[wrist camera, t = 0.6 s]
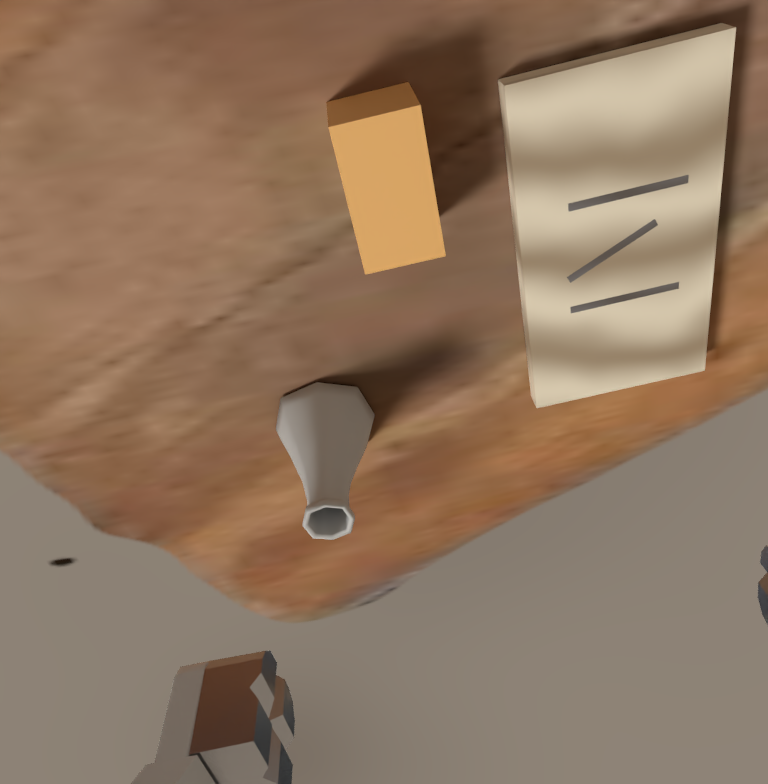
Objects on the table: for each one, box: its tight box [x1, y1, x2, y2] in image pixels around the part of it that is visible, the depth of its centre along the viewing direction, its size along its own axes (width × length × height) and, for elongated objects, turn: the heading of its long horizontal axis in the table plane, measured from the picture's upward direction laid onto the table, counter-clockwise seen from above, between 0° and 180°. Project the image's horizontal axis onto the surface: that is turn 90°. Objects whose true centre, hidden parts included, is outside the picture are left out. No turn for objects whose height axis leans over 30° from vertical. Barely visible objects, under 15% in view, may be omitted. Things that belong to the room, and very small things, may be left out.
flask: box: [276, 382, 375, 540], centre depth 45 cm, size 7×7×10 cm
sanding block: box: [326, 82, 446, 275], centre depth 36 cm, size 8×4×5 cm, turn 12°
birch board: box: [498, 23, 736, 408], centre depth 42 cm, size 22×12×2 cm, turn 12°
